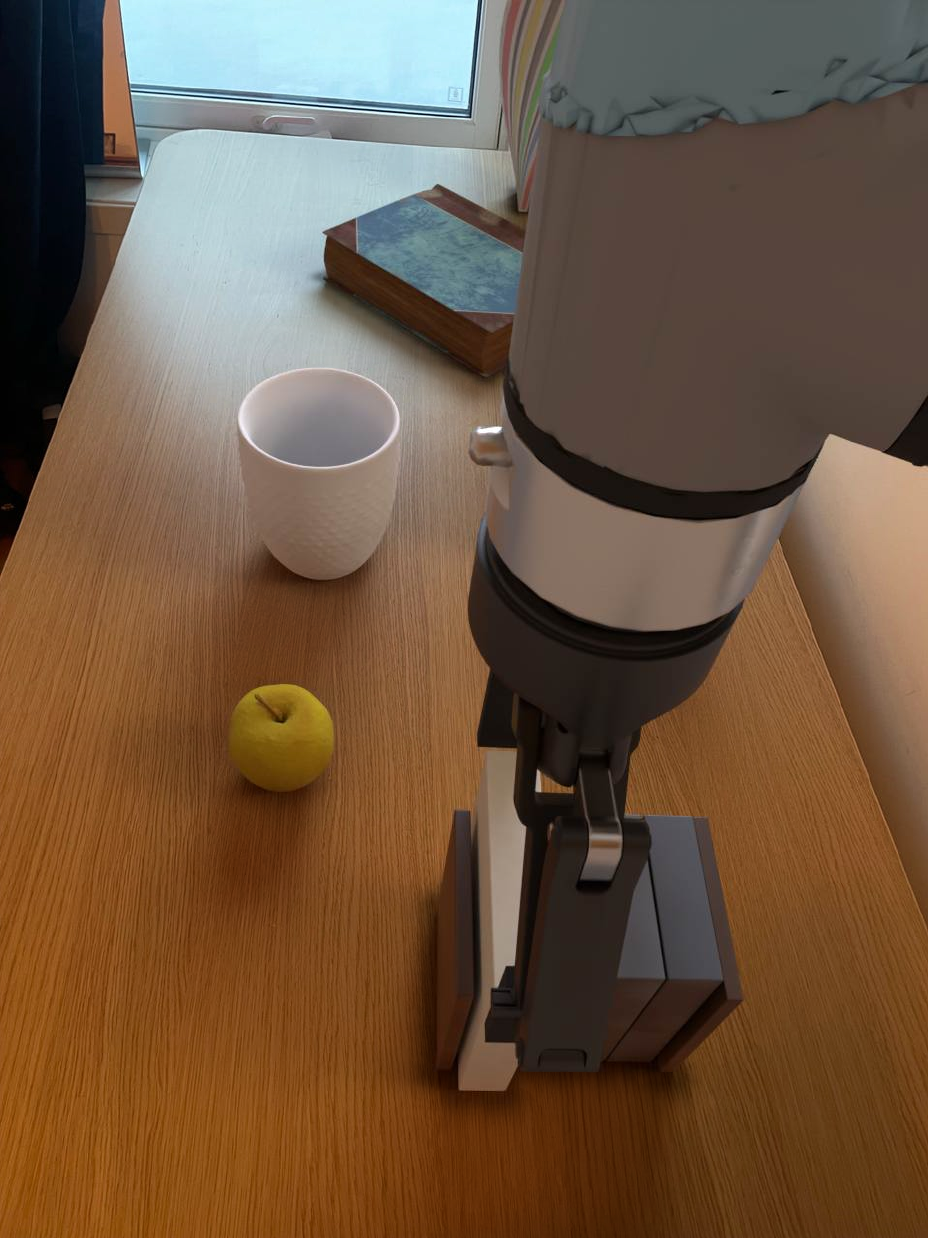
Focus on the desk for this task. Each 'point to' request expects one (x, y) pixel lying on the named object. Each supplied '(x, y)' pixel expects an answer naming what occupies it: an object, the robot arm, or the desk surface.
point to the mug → (319, 467)
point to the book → (435, 272)
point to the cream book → (492, 917)
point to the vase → (526, 80)
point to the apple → (280, 737)
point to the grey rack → (651, 956)
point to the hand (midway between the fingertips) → (510, 872)
